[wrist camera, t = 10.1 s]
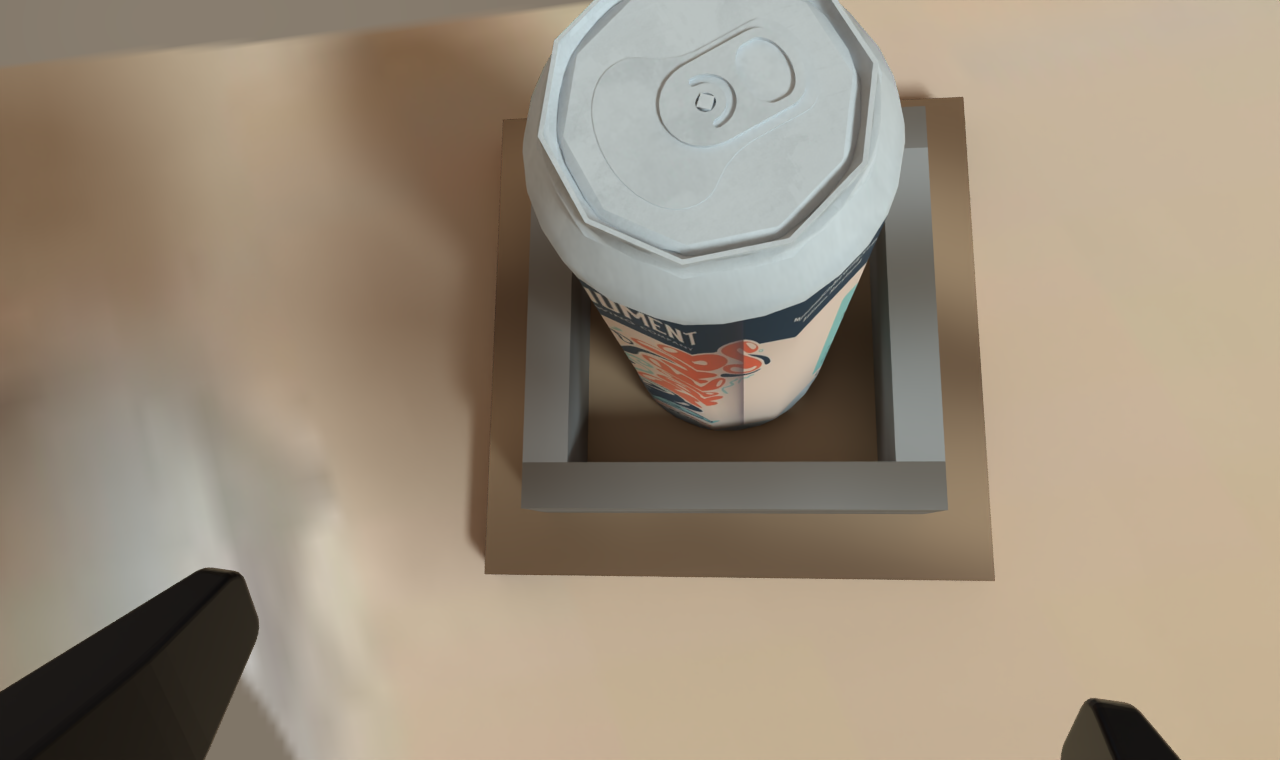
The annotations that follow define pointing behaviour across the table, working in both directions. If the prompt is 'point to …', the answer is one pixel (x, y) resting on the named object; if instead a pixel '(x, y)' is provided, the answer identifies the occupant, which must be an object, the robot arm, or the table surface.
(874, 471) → the socket board
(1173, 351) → the table surface
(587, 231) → the beer can
